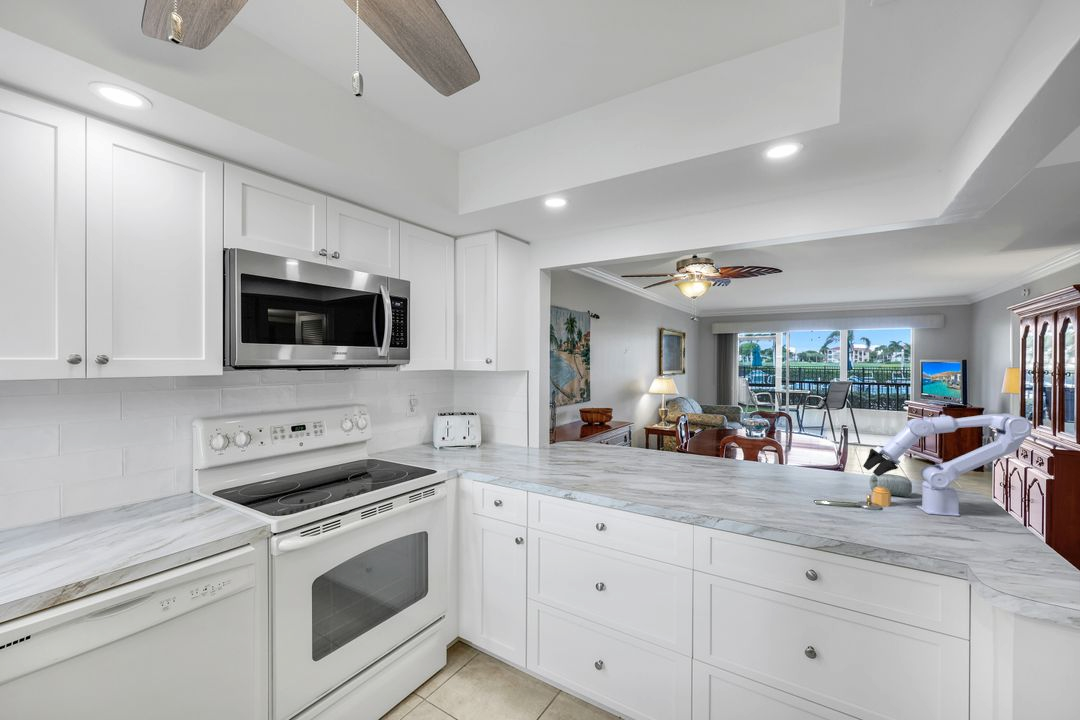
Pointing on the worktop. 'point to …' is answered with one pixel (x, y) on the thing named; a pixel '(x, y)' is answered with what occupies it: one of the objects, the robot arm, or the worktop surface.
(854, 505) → the rod
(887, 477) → the grey rounded block
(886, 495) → the wire nut
